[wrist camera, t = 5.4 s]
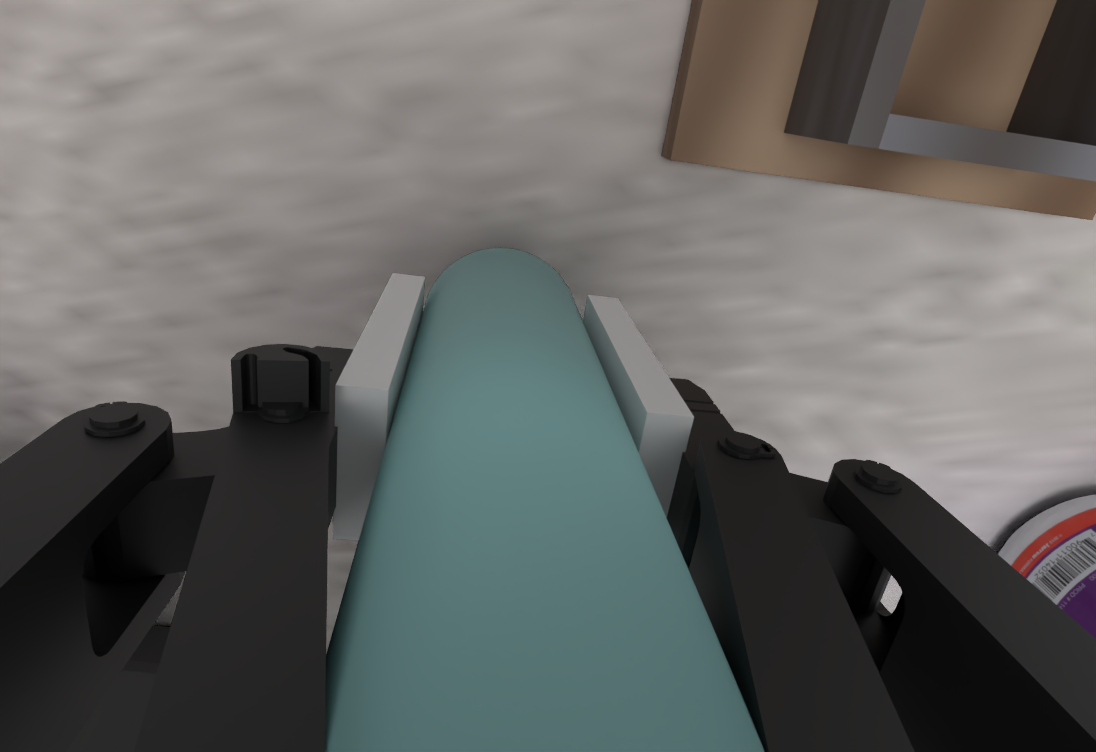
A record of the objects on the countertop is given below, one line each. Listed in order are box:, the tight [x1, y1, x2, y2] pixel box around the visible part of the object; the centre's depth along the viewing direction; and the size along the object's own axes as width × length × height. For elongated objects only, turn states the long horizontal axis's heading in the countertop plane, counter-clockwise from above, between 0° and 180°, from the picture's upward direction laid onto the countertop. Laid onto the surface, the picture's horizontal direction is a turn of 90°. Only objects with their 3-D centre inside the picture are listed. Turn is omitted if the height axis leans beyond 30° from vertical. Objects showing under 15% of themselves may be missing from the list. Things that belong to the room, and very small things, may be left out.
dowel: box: [325, 248, 765, 752], centre depth 11 cm, size 4×4×14 cm
